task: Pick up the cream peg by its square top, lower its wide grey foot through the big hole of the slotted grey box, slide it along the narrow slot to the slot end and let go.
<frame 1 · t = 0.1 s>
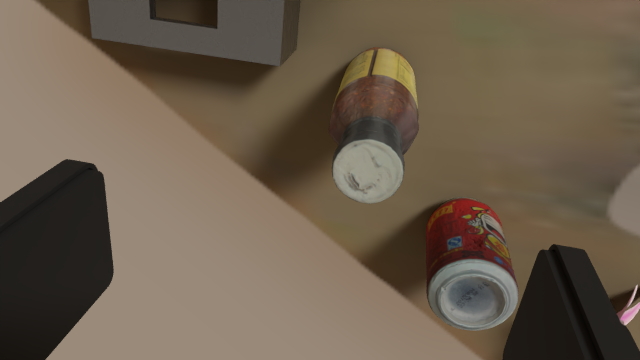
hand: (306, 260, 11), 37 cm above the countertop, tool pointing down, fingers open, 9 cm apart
sauce bottle: (382, 78, 46), on the countertop
soda can: (461, 221, 51), on the countertop
lily: (594, 304, 53), on the countertop
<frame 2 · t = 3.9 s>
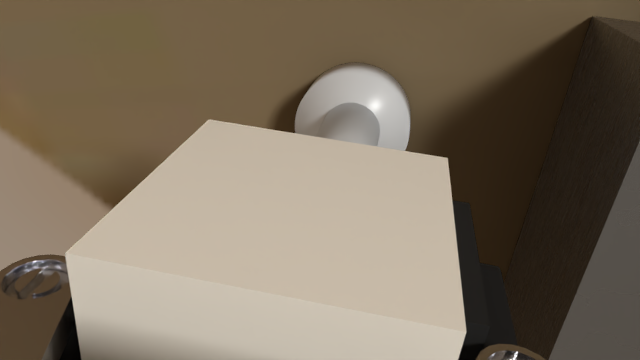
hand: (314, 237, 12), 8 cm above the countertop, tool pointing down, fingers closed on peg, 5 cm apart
peg: (355, 115, 19), on the countertop, touching gripper
when the fingers open (9 cm above the countertop, at t = 12.7 s): peg stays where it is, on the countertop.
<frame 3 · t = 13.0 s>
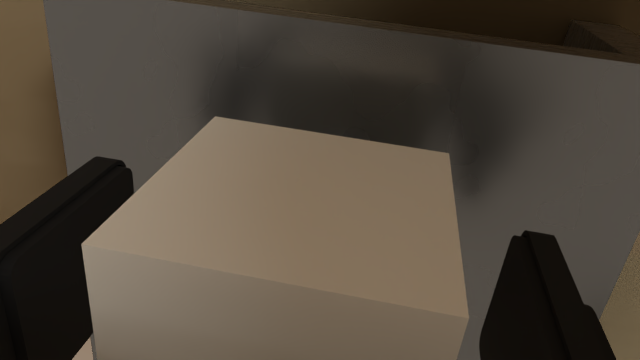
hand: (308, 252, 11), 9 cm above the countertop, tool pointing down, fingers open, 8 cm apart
slotted grey box: (343, 209, 21), on the countertop
peg: (357, 113, 20), on the countertop
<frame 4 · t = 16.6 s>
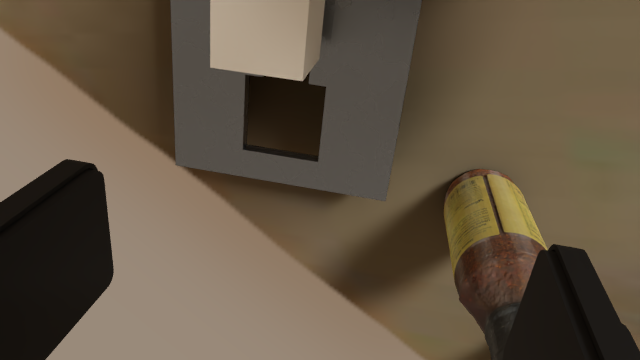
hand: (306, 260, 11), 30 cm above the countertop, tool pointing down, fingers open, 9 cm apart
slotted grey box: (304, 50, 40), on the countertop
sauce bottle: (483, 197, 43), on the countertop
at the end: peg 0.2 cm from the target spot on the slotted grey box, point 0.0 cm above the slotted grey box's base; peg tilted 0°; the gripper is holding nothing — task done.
